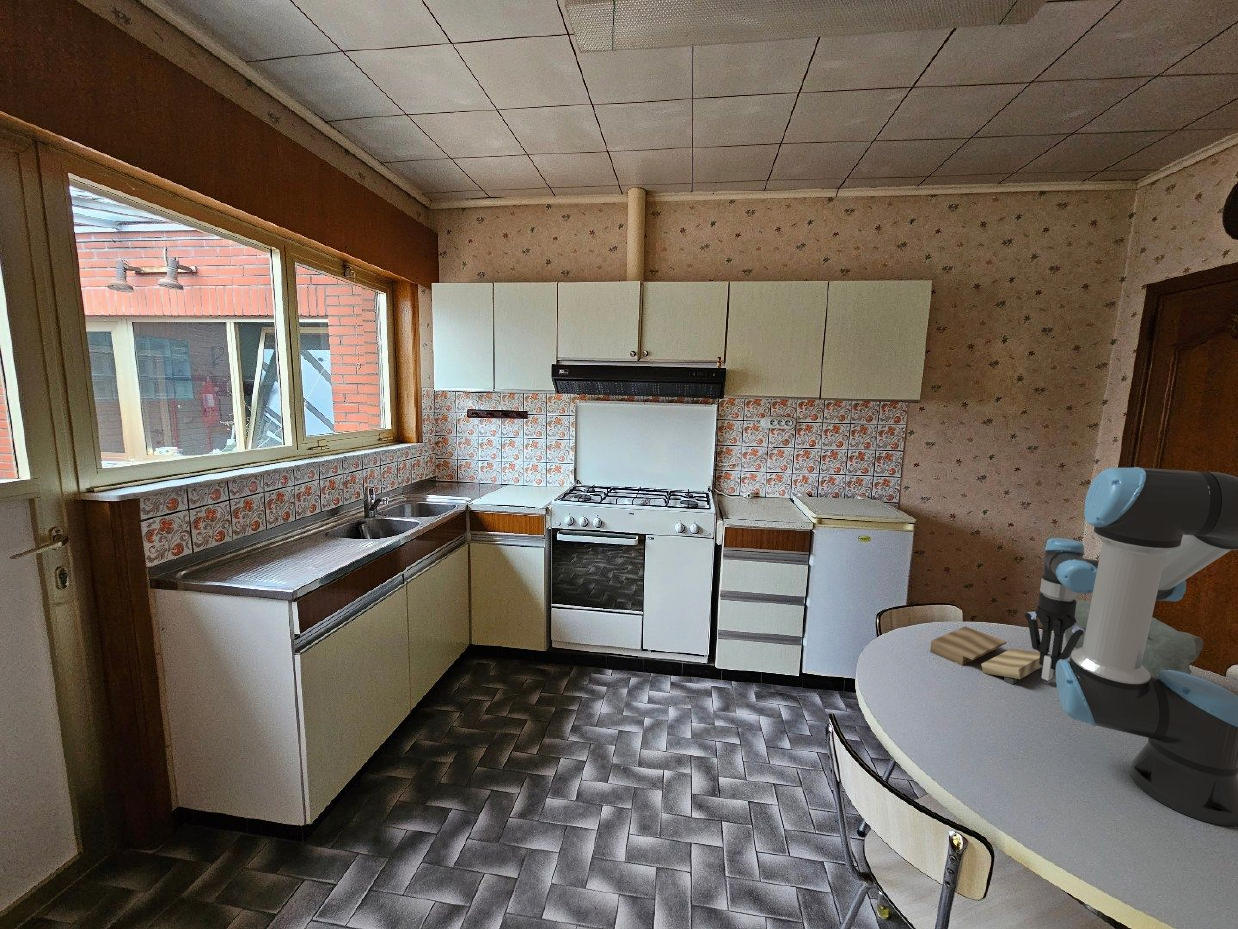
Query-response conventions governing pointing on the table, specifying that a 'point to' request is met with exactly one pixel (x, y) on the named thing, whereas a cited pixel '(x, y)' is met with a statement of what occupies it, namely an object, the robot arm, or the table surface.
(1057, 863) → the table surface
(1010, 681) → the spacers
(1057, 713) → the table surface
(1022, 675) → the plank
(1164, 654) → the rock
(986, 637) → the board
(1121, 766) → the table surface
